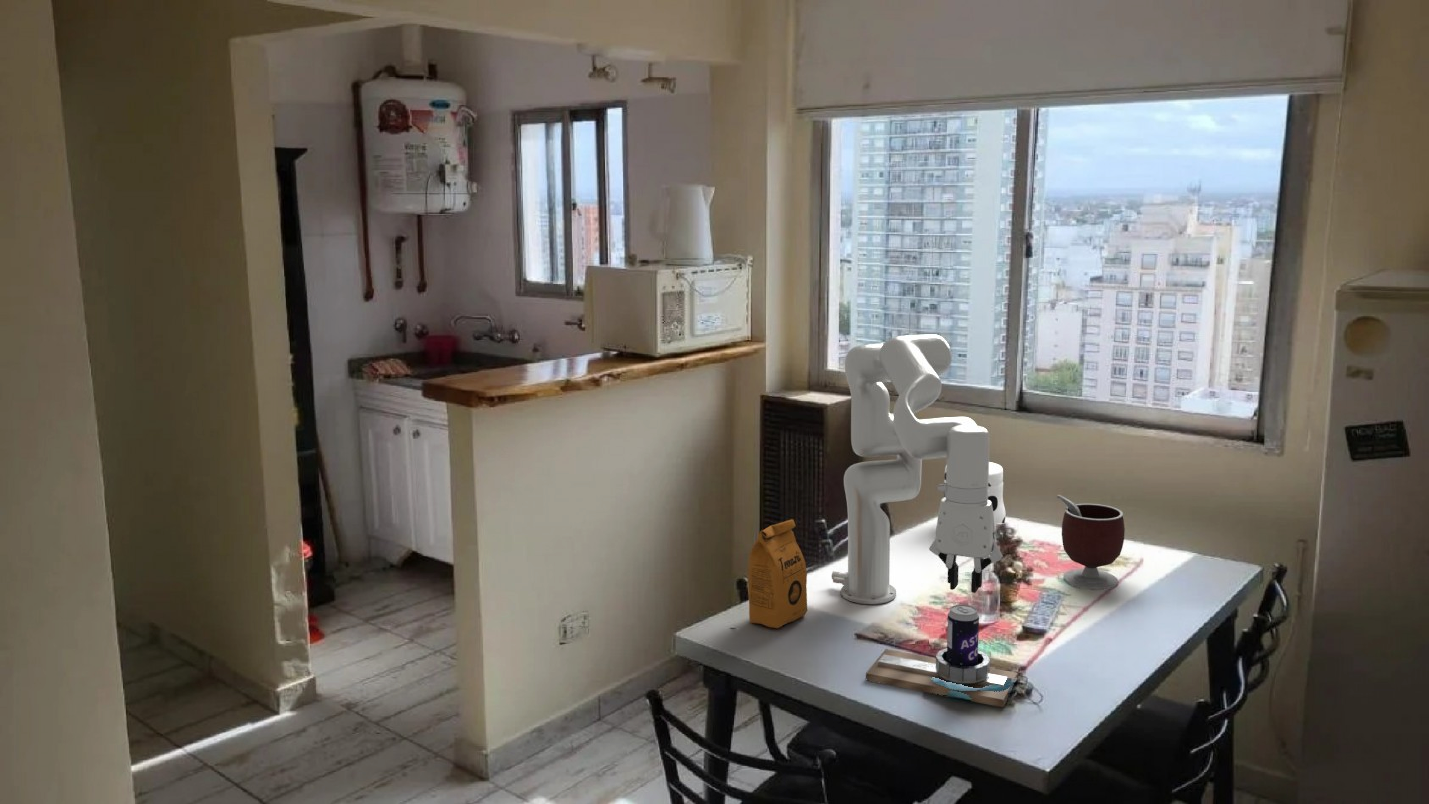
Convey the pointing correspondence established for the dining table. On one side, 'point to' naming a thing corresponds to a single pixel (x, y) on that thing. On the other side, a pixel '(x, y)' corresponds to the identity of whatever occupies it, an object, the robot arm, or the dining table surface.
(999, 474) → the milk container
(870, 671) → the mount board
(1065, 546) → the mate gourd
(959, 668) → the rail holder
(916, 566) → the dining table surface
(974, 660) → the beverage can
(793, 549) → the coffee package
